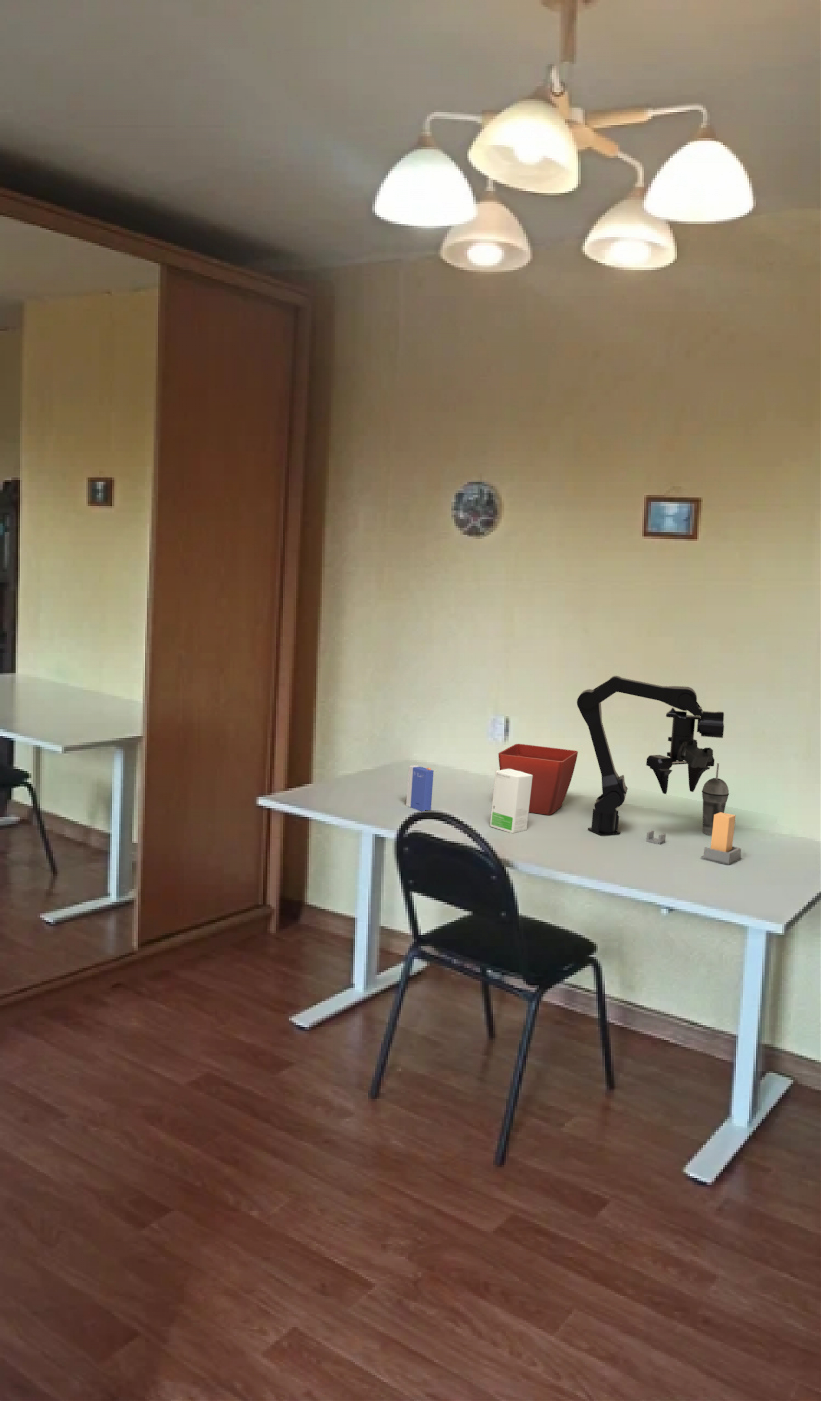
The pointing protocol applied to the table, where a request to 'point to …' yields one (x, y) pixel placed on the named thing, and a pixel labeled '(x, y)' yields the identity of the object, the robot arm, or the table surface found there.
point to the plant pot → (542, 773)
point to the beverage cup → (713, 801)
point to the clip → (654, 840)
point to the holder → (722, 855)
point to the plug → (723, 832)
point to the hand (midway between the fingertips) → (678, 792)
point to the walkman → (419, 788)
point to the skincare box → (511, 800)
